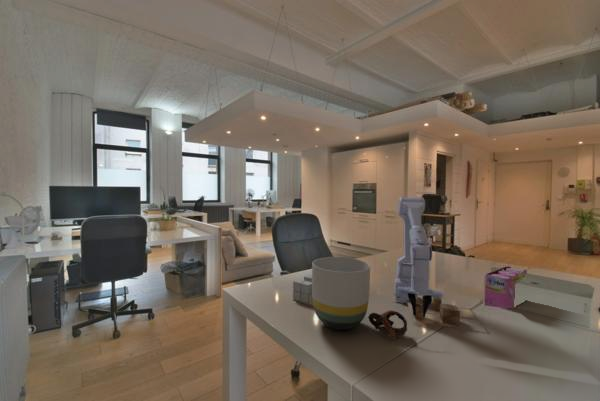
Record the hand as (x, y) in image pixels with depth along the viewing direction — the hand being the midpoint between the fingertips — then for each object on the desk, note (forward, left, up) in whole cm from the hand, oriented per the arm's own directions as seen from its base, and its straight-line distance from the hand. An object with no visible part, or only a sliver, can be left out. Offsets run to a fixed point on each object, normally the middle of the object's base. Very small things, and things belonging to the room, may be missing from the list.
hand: (418, 315), depth 97 cm
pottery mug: (-11, -12, -2) cm, 16 cm away
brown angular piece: (+6, 0, -2) cm, 6 cm away
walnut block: (+10, 0, -1) cm, 10 cm away
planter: (-27, -12, -2) cm, 29 cm away
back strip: (+13, +9, -2) cm, 16 cm away
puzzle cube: (-41, +8, -3) cm, 42 cm away
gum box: (+38, +29, -2) cm, 48 cm away
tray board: (+12, +5, -2) cm, 13 cm away
